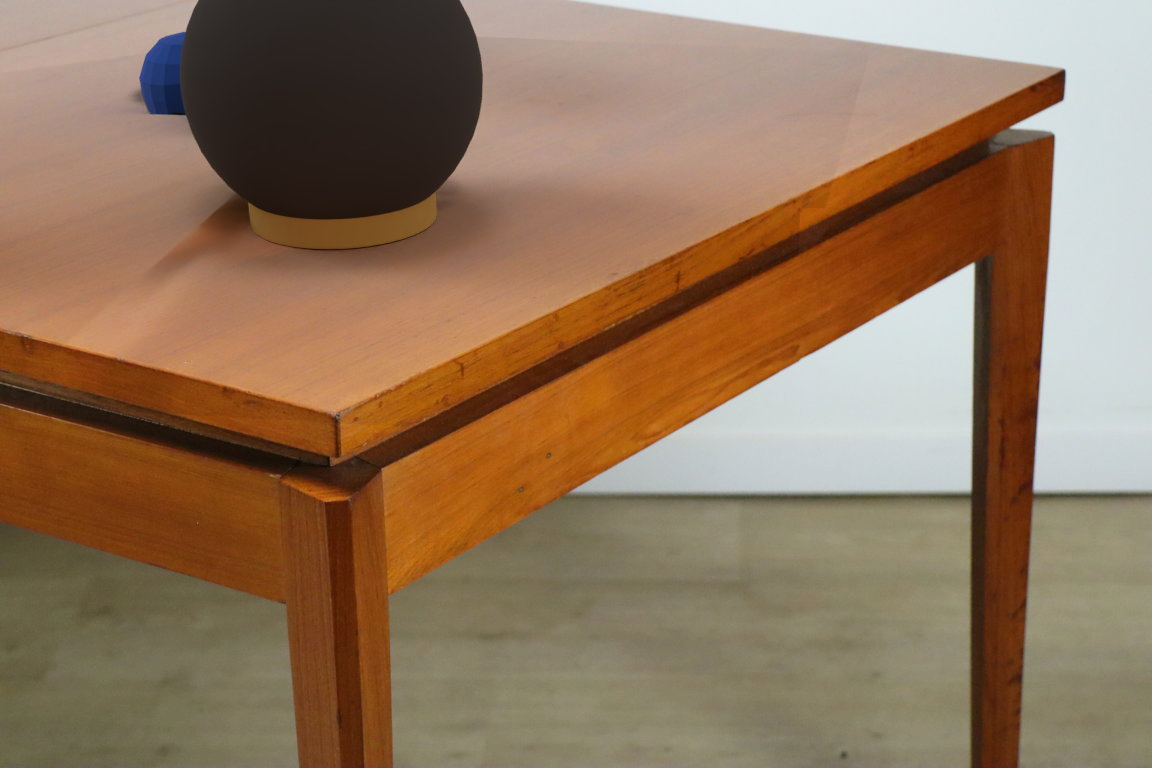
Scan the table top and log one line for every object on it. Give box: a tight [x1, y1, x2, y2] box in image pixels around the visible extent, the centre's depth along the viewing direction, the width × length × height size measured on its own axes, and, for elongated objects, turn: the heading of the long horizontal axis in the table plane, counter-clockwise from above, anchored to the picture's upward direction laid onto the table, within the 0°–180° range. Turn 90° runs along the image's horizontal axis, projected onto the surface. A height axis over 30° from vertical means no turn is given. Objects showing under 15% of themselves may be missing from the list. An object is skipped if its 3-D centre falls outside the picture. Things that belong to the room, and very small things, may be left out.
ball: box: [180, 0, 484, 250], centre depth 71 cm, size 14×14×14 cm
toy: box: [138, 31, 186, 116], centre depth 89 cm, size 7×6×15 cm
